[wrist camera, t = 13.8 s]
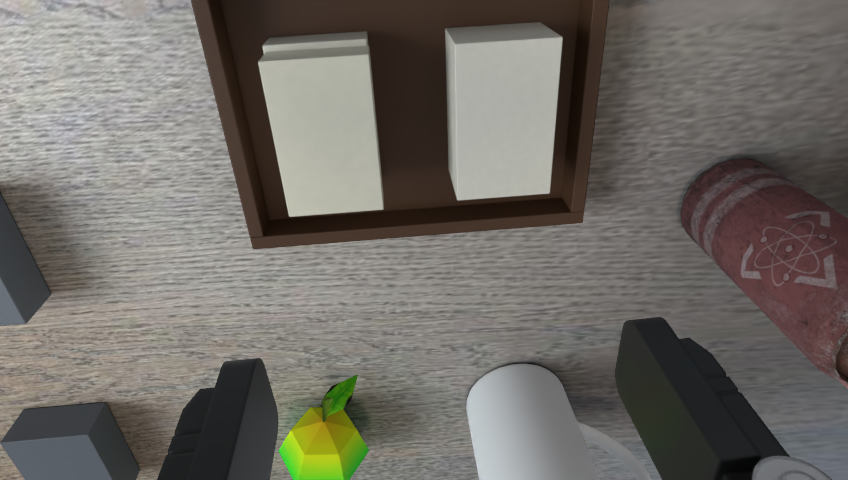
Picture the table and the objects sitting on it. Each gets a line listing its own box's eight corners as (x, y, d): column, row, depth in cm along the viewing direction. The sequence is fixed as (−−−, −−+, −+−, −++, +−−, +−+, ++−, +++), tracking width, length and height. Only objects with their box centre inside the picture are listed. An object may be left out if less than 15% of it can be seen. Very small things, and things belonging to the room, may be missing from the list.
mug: (458, 429, 45) (478, 558, 36) (474, 359, 41) (502, 483, 32) (596, 433, 47) (649, 557, 38) (625, 365, 43) (692, 486, 34)
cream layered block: (268, 37, 28) (253, 54, 24) (369, 30, 28) (368, 47, 24) (296, 184, 32) (287, 217, 29) (382, 178, 32) (383, 209, 29)
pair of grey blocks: (-114, 190, 31) (-158, 215, 28) (-5, 182, 31) (-39, 206, 29) (65, 476, 44) (46, 511, 42) (140, 469, 45) (125, 503, 42)
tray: (199, -33, 26) (183, -28, 24) (596, -56, 27) (616, -54, 25) (260, 227, 34) (252, 249, 32) (569, 203, 35) (583, 223, 32)
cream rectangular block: (445, 28, 28) (454, 44, 25) (540, 21, 28) (563, 36, 25) (448, 170, 32) (457, 200, 29) (531, 164, 32) (550, 193, 29)
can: (667, 245, 37) (807, 404, 25) (688, 158, 34) (861, 293, 22) (753, 239, 37) (931, 394, 25) (782, 153, 34) (1003, 283, 22)
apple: (324, 535, 39) (319, 454, 34) (265, 484, 42) (253, 403, 37) (388, 467, 44) (391, 388, 39) (331, 426, 47) (328, 348, 42)
